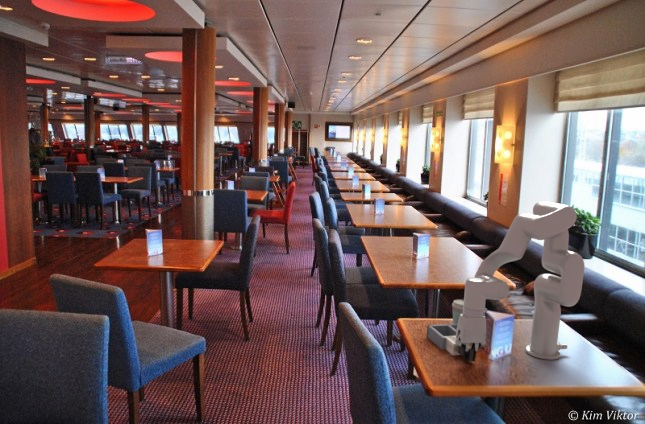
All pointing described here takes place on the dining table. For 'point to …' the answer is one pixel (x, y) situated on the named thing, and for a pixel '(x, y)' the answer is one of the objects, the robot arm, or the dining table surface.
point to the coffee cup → (457, 310)
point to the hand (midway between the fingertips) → (469, 359)
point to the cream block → (456, 347)
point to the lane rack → (441, 333)
